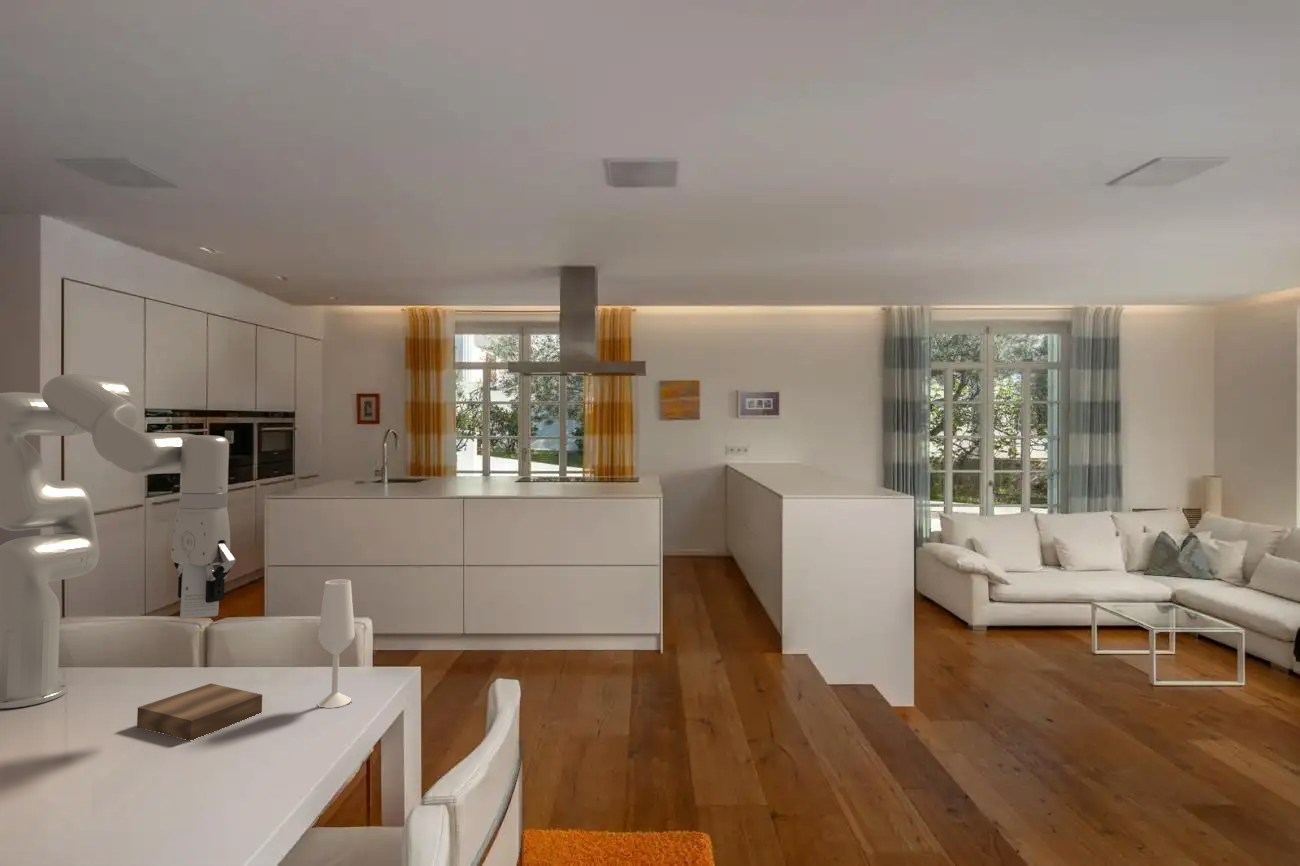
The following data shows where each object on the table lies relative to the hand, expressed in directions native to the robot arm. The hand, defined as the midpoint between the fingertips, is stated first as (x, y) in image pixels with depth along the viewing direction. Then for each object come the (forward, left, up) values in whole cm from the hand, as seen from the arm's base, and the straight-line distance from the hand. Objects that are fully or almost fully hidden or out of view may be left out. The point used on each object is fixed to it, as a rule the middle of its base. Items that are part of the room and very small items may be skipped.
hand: (200, 598), depth 132 cm
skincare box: (0, 0, -3) cm, 3 cm away
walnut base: (0, +1, -23) cm, 23 cm away
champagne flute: (+15, +18, -23) cm, 33 cm away
